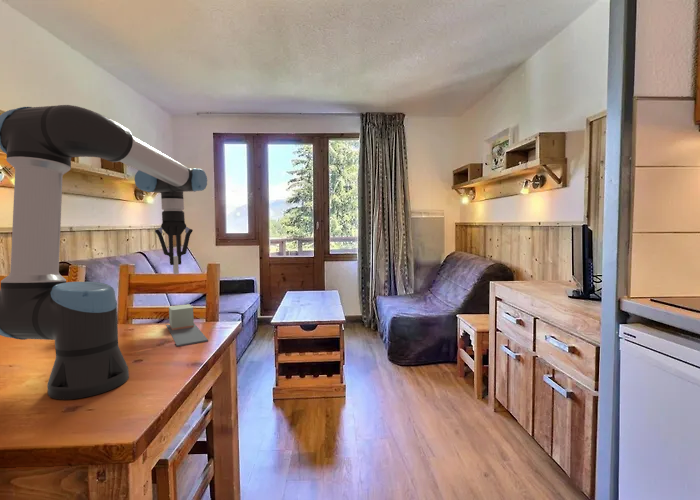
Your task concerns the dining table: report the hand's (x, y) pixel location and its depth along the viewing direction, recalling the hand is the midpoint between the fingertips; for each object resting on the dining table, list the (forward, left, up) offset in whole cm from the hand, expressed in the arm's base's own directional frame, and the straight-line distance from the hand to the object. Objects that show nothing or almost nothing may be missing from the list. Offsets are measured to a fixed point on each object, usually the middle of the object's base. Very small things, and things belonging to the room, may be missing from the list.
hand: (176, 273), depth 137 cm
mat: (-17, 0, -19) cm, 25 cm away
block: (-9, 0, -18) cm, 20 cm away
